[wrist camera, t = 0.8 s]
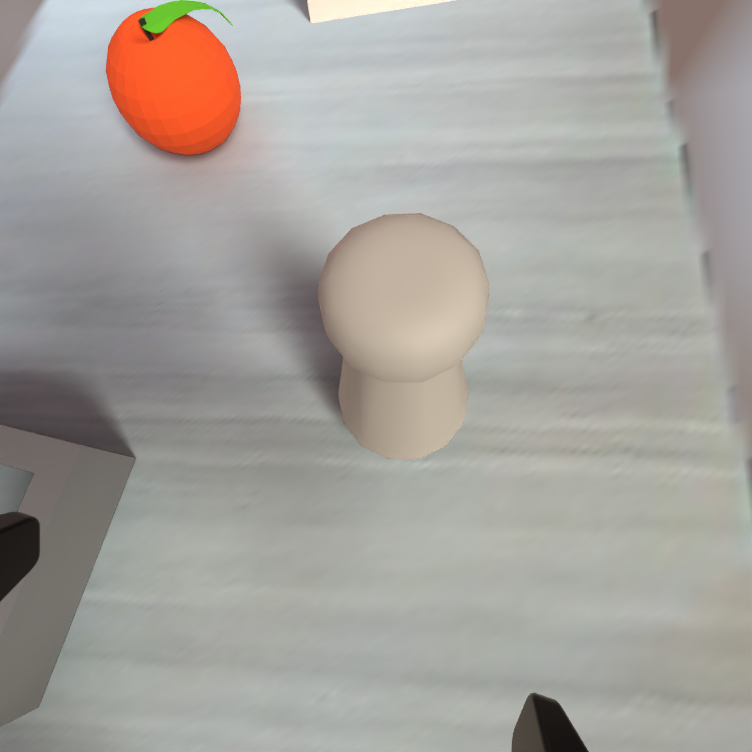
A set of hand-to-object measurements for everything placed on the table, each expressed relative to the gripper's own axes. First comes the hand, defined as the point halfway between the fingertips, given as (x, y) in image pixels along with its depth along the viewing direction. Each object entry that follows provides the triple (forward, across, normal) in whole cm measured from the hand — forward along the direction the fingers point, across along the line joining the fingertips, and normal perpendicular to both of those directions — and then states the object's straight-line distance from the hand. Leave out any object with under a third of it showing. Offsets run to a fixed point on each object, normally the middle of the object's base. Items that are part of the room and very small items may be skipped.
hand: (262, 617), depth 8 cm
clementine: (+23, +16, -10) cm, 30 cm away
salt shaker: (+16, 0, +1) cm, 16 cm away
